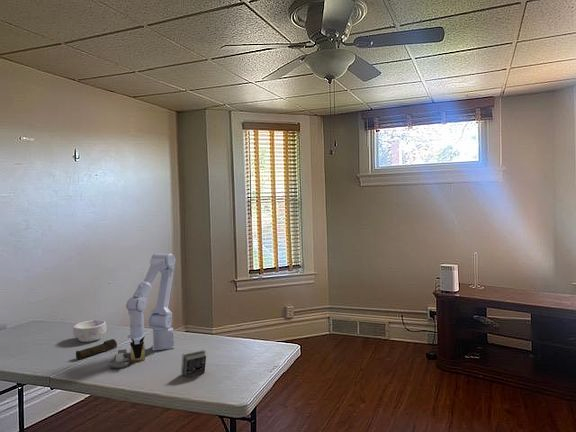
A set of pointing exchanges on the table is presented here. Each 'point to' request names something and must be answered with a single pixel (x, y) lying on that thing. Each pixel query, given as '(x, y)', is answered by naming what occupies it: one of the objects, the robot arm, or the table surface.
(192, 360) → the electrical switch
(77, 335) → the white bowl
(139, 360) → the socket
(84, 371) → the table surface
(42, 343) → the table surface
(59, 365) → the table surface
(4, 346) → the table surface
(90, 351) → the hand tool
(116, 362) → the ratchet
